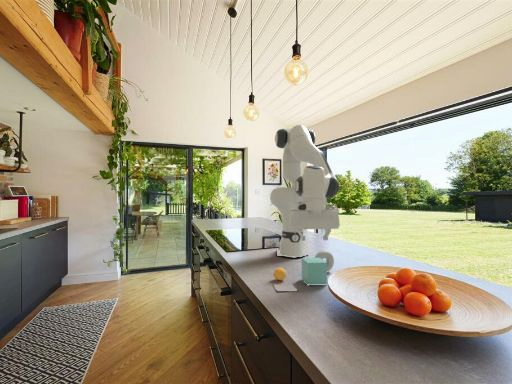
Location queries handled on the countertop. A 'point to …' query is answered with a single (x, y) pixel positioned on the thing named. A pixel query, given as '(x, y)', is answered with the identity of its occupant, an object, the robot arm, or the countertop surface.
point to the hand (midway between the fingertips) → (314, 240)
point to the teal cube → (314, 271)
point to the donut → (328, 257)
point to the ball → (280, 274)
